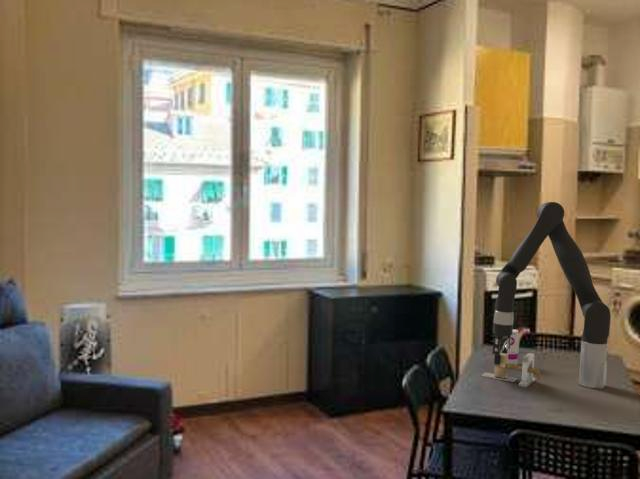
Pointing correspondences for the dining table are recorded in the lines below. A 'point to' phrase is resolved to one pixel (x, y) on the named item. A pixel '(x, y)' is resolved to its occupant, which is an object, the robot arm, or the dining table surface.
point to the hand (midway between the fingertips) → (500, 362)
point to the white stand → (526, 376)
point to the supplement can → (513, 348)
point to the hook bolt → (504, 366)
